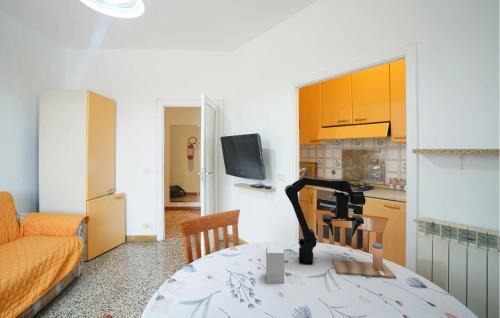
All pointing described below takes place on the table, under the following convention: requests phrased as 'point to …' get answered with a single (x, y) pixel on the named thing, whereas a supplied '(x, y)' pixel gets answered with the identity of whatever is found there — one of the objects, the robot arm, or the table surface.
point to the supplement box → (275, 264)
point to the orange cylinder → (378, 256)
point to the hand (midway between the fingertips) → (342, 236)
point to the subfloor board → (361, 269)
